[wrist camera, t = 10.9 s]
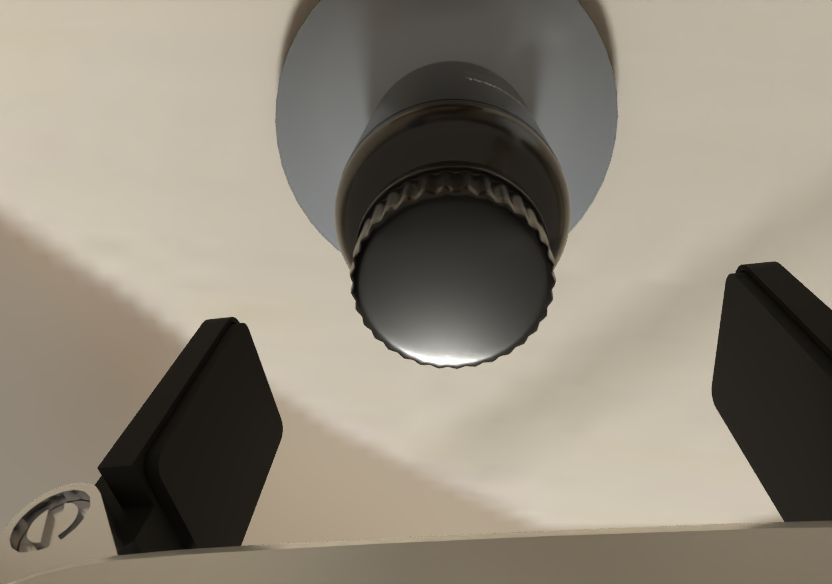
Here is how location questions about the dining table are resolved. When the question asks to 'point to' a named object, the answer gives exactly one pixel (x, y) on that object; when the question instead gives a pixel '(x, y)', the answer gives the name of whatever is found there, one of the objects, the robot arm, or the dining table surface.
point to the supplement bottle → (452, 217)
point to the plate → (429, 43)
